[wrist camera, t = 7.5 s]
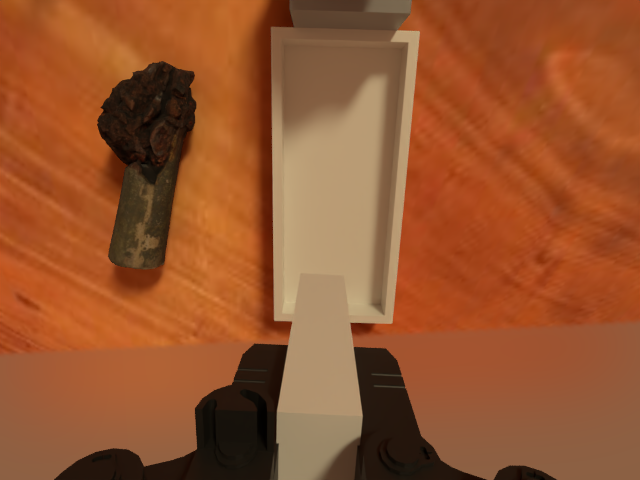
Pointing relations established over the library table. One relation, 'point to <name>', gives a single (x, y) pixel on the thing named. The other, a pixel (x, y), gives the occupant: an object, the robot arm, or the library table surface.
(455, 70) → the library table surface
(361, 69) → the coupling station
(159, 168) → the metal pipe
